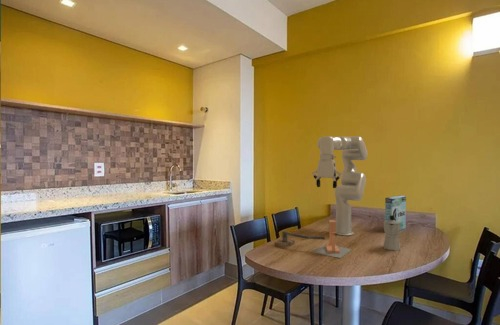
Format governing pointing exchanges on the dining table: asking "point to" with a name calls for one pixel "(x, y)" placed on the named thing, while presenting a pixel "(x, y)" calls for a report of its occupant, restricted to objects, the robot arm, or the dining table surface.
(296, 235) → the stand
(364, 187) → the robot arm
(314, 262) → the dining table surface
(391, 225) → the coffee maker
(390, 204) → the gum box
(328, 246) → the orange block
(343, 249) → the mat
